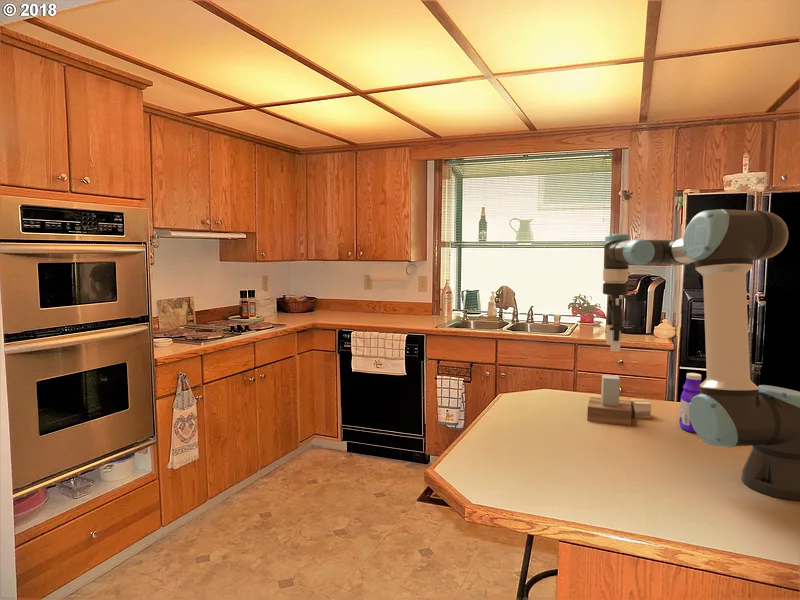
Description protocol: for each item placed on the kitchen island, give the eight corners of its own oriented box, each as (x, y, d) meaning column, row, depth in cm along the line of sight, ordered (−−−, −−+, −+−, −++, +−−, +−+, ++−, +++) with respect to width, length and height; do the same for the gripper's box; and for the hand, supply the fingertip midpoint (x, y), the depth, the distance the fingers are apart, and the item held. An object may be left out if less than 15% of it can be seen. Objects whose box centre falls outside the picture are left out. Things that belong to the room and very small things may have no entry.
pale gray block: (618, 406, 179) (620, 379, 178) (602, 405, 180) (603, 378, 179) (616, 402, 184) (618, 375, 183) (600, 401, 185) (602, 374, 184)
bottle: (706, 433, 167) (709, 376, 165) (687, 433, 167) (690, 376, 166) (693, 426, 174) (697, 371, 173) (675, 425, 174) (678, 371, 173)
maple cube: (650, 418, 182) (651, 403, 182) (635, 418, 182) (635, 403, 182) (644, 414, 187) (644, 399, 187) (629, 413, 187) (629, 399, 187)
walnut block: (630, 427, 174) (631, 411, 174) (587, 421, 179) (587, 406, 178) (630, 415, 186) (631, 401, 186) (589, 411, 191) (590, 397, 190)
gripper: (633, 284, 165) (630, 354, 167) (623, 280, 189) (620, 342, 191) (606, 283, 167) (604, 353, 169) (599, 280, 191) (597, 341, 193)
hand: (612, 347), depth 180 cm, fingers open, 13 cm apart
